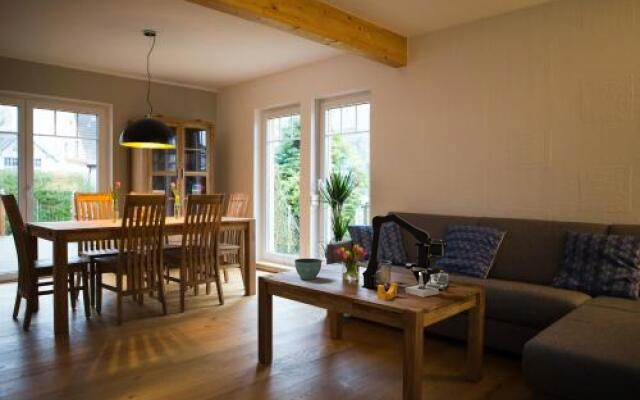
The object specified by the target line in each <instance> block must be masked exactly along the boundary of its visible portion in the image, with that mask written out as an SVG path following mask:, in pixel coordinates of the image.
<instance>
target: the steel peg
mask: <svg viewBox="0 0 640 400" xmlns="http://www.w3.org/2000/svg"><path fill="white" fill-rule="evenodd" d="M422 273H424V272H419V284H418V285H419V289H421V290H424V289H426V285H424V283H423V274H422Z"/></svg>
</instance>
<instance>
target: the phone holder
mask: <svg viewBox="0 0 640 400" xmlns="http://www.w3.org/2000/svg"><path fill="white" fill-rule="evenodd" d="M450 285H451V281H449V273H445V274H442V273H437V274H431V275H430V279H429V281H427V284H426V286H428V287H432V288H436V289H440V290H442V292H444V291H446V287H450Z"/></svg>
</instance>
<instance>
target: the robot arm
mask: <svg viewBox="0 0 640 400" xmlns="http://www.w3.org/2000/svg"><path fill="white" fill-rule="evenodd" d="M391 222H393V223H394V224H396V225H398V226H399V227H401V229H403V230H404V231H405V230H406V231H407V232H408V233H410V234H411V235H412V236H413V237H414V238H415V239H416V242H415V243H414V244H413V246H414V247H417V249H416V250H417V252H416V253H417V255H416V256H415V259H416V262H408V263H406V265H405V269H406V270H411V269H412V270H411V272H412V273H413V276H414V278H415V279H416V282H417V284H418V285H419V272H422V270H425V272H424V273H422V274H423V283H424V285H426V284H427V283H428V282H429V281H428V279H429V277H430V275H431V274H437V273H440V270H441V269H440V267H437V266H436V265H437V261H434V260H433V261H432V260H430V257H428V254H429V253H430V254H431V255H432V256H438V257H444V251H445V249H443V243H433V241H432V240H431V237H430V236H431V235H430V233H429V232H428V231H427V230H425V229H423V228H420V227H417V226H415V225H414V224H412V223H410V222H409V221H407V220H405V219H404V218H402V217H401V216H399V215H398V214H397V213H391V214H388V215H385V216H384V215H375V216H373V217H372V219H371V226H372V231H373V233H372V242H371V252H370V258H369V261H368V263H367V266H366V269H365V270H364V271H363V272H362V277H363V284H362V285H361V288H365V289H369V290H371V289H376V288H377V289H378V286H377V276H376V275H377V273H378V272H380V270H381V269H382V263H383V262H382V260H380V248H381V240H382V239H381V238H382V232H383V230H384V228H385V224H386V223H391ZM420 242H422V243H420ZM425 244H426V245H425ZM424 268H425V269H424Z"/></svg>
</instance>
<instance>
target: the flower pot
mask: <svg viewBox="0 0 640 400" xmlns="http://www.w3.org/2000/svg"><path fill="white" fill-rule="evenodd" d="M322 262H323V260H322V259H319V258H296V259H295V260H294V265H295V271H296V272H297V275H298V276H299V278H300V279H301V280H306V281H307V280H308V281H311V280H315V279H317V277H318V275H319V273H320V272H321V269H322V264H323V263H322Z"/></svg>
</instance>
